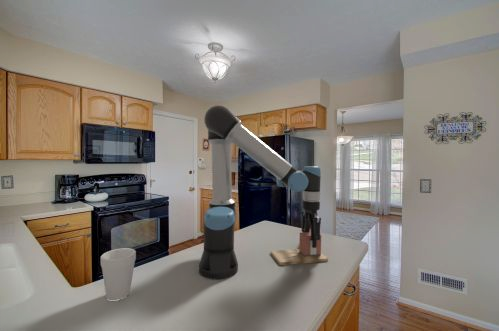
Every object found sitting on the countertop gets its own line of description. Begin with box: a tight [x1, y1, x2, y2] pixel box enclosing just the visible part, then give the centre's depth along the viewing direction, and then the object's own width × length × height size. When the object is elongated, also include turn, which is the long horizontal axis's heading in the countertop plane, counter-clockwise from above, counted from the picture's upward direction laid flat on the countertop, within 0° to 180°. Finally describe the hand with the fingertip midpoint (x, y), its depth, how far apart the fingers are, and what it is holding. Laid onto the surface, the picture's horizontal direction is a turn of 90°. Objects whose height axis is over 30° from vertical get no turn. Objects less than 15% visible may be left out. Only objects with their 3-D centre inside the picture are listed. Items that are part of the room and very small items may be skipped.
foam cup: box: [100, 247, 137, 300], centre depth 71 cm, size 10×9×13 cm
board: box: [270, 248, 329, 266], centre depth 102 cm, size 22×12×1 cm, turn 103°
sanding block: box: [298, 232, 322, 257], centre depth 103 cm, size 8×5×9 cm, turn 103°
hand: (309, 251), depth 103 cm, fingers closed on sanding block, 5 cm apart
